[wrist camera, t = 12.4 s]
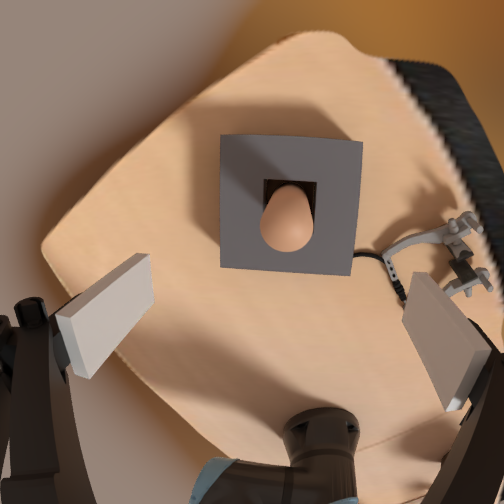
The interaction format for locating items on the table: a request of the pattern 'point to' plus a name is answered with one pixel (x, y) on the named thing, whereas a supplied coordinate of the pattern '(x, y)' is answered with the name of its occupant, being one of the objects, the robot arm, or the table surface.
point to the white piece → (416, 501)
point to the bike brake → (455, 245)
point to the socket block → (299, 169)
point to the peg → (287, 218)
